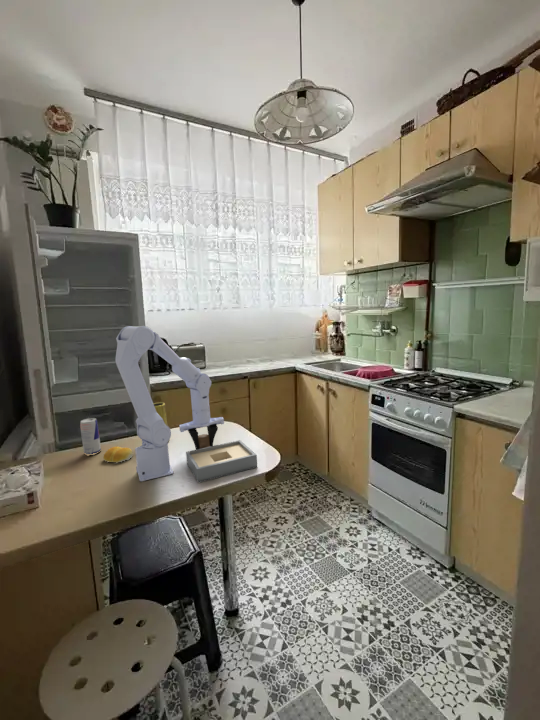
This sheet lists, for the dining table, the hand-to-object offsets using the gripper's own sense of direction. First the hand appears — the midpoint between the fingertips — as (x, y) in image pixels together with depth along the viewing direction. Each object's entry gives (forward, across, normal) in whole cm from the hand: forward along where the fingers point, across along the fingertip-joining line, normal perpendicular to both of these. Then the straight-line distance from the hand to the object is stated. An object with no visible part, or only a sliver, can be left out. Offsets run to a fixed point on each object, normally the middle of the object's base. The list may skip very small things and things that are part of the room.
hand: (204, 448), depth 119 cm
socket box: (+2, +2, -12) cm, 12 cm away
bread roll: (+2, -26, +12) cm, 29 cm away
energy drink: (+2, -34, +22) cm, 41 cm away
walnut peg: (+2, 0, 0) cm, 2 cm away
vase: (+2, -11, +20) cm, 23 cm away
